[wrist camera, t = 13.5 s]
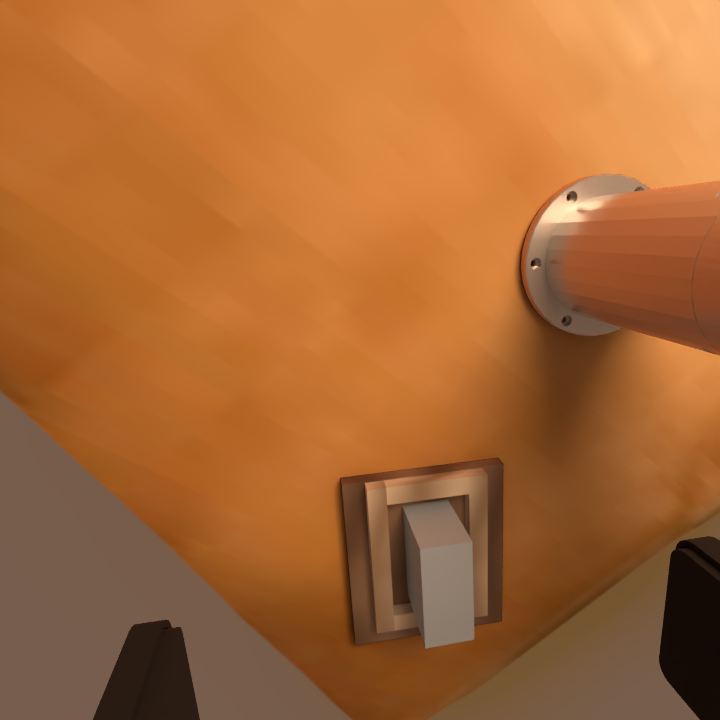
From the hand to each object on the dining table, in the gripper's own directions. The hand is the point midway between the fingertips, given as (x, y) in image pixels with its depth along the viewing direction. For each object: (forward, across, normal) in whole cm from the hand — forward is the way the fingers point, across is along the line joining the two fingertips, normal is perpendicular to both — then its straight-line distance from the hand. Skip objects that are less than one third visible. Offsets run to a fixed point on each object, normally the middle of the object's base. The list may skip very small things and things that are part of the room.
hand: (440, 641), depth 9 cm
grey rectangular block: (+29, -7, +20) cm, 36 cm away
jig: (+30, -7, +21) cm, 38 cm away
